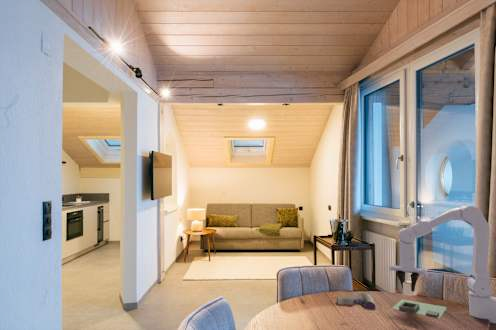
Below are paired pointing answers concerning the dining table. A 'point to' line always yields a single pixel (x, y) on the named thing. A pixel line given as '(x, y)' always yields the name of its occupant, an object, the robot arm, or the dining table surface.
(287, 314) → the dining table surface
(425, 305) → the circuit board
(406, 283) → the plug
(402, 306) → the socket
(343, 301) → the infrared thermometer
